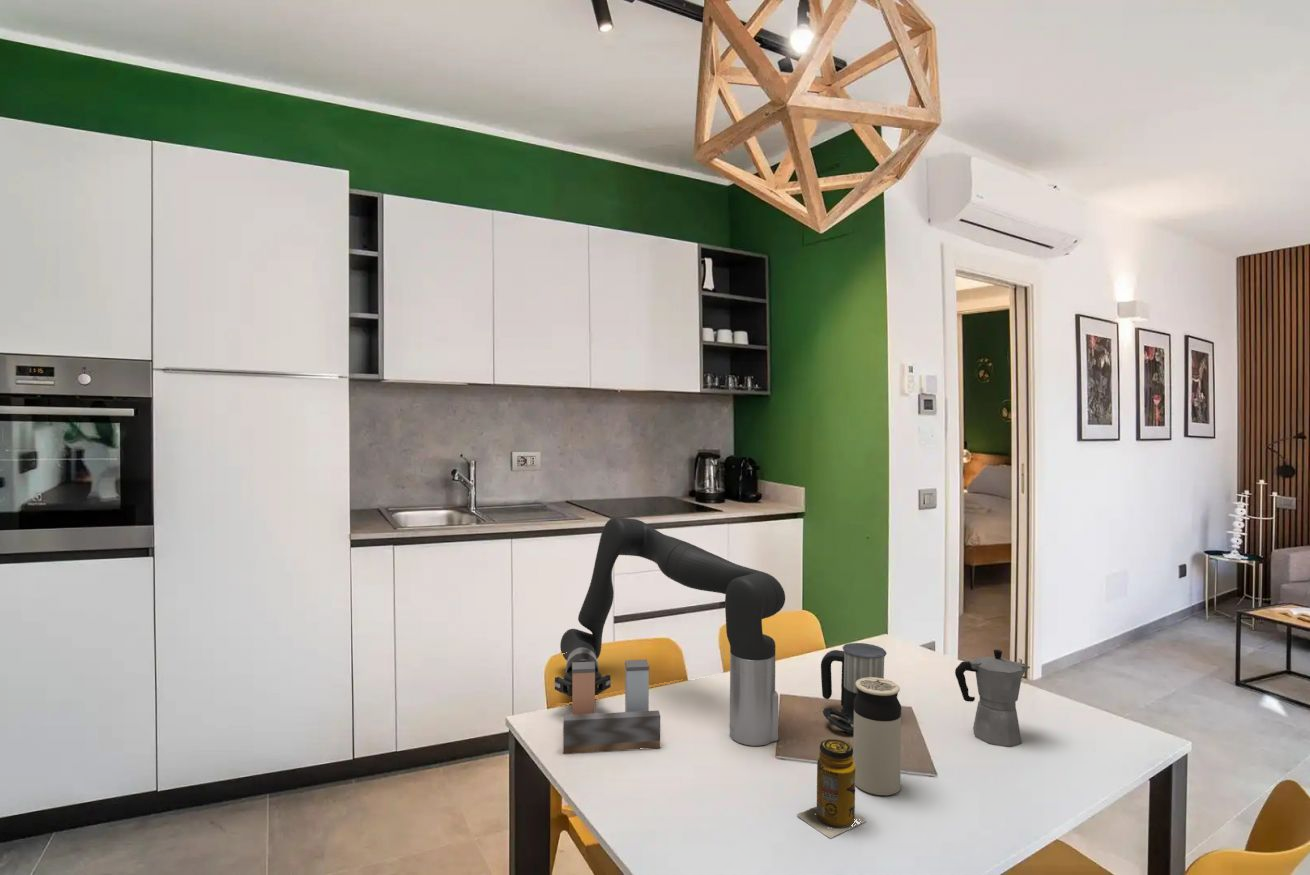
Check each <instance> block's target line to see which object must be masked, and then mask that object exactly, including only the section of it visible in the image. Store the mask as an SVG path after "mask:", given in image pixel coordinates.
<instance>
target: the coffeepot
mask: <svg viewBox="0 0 1310 875" xmlns="http://www.w3.org/2000/svg"><path fill="white" fill-rule="evenodd" d="M993 655H994V657H991V656H981V657H976V658H973V660H968V661H961V662H960V663H959V664H958V665H957V667H956V668H955V669H954V670H955V671H954V674H955V675H954V676H955V677H956V680H957V683H958V686H959V690H960V693H961V696H962V699H963V700H964V701H965V702H970V703H971V702H975V699H976V697H975V696H970V695H969V687H968V685H967V682H966V675H965V674H964V673H966V671H967V672H968V671H969V672H973V673H974V672H975V678H976V686H977V691H978V693H977V694H978V695H979V700H978V701H977V707H976V711H975V717H974V722H973V726H972V729H973V734H974V737H975V738H977V739H978V740H979V741H982V742H984V743H987V744H989V745H993V746H999V747H1009V748H1010V747H1015V746H1018V745H1020V744H1022V736H1021V731H1020V730H1021V729H1020V725H1019V718H1018V717H1019V716H1018V710H1017V708H1016V702H1017V701H1018V700H1019V694H1020V691H1021V690H1020V689H1021V684H1022V678H1023V676H1024V674H1025V673H1026V672H1027V670H1028V669H1030V668H1031V667H1030V666H1029V665H1027V664H1026V663H1022V662H1019V661H1018V662H1017V661H1012V660H1009V659H1006V658H1002V655H1003V651H1002V650H1000V649H993Z"/></svg>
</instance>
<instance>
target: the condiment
mask: <svg viewBox="0 0 1310 875" xmlns="http://www.w3.org/2000/svg"><path fill="white" fill-rule="evenodd" d="M853 750H854V747H853V746H852V745H851V744H850V742H847V741H845V740H842V739H838V738H828V739H824V740H822V741H821V742H820V744H819V757H818V759H817V762H816V768H817V769H816V806H814V807H811V808H808V809H806V810H804V811H802V812H799V813H797V814H796V816H798V817H799V818H800V819H801V820H803V822H805V823H806V824H808V825H809V826H811V827H812V828H814V830H817V831H818V832H820V833H821V834H822V835H825V836H826V837H827V838H829V839H832V838H834V837H836V836H838V835H840V834H843V833H844V832H847V831H849V830H852V829H853V828H855V826H856V827H857V825H858V824H857V823H856V822H855V823H854V821H855V820H856V819H857V821H858V822H860V821H861V822H860V823H862V822H863V823H862V824H864V823H866V821H867V820H866V819H865V818H862V816H859V815H857V814H855V811H856V785H855V764H854V762H853ZM854 819H855V820H854ZM859 819H860V820H859ZM853 823H854V824H853ZM852 824H853V827H852V826H851V825H852ZM855 824H856V825H855ZM854 825H855V826H854ZM858 826H859V825H858ZM828 827H829V828H828ZM849 828H850V829H849Z"/></svg>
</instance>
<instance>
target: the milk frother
mask: <svg viewBox="0 0 1310 875" xmlns="http://www.w3.org/2000/svg"><path fill="white" fill-rule="evenodd" d="M887 654H888V653H887V651H886V650H885V649H884V648H882V647H881V646H879V645H876V644H875V645H874V644H870V643H863V642H850V643H846V644H844V645H843V646H842V650H839V649H833V650H830V651H828V652H826V654H824V656H823V657H822V660H821V663H820V678H821V679H820V680H821V694H822V697H823V699H825V700H829V699H831V697H832V695H833V684H832V664H833V662H841V686H840V687H841V688H840V689H841V693H840V694H841V696H840V699H841V700H840V706H841V707H842V708H841V711H840V710H837V709H834V708H831V707H824V708H823V710H822V714H823V716H824V717H825V719H826V720H827V721H828V722H830V724H832V725H833V726H834V727H836V728H838V729H840V731H841V730H842V731H843V733H844V732H846V733H850V734H854V699H855V697H856V695H857V694H858V690H857V687H856V684H855V683H856V681H857V680H859V679H861V678H867V677H876V678H883V679H885V658H886V655H887Z"/></svg>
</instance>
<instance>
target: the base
mask: <svg viewBox="0 0 1310 875" xmlns="http://www.w3.org/2000/svg"><path fill="white" fill-rule="evenodd" d="M660 713H661V712H660V710H649V711H637V712H625V711H621V712H617V711H616V712H601V713H600V712H597V713H596V712H595V714H576V715H572V714H563V720H562V721H563V725H562V726H563V727H562V728H563V746H562V747H563V754H565V755H566V754H581V753H582V754H583V753H598V752H597V751H603V752H614V751H613V750H621V751H628V750H627V749H639V750H641V749H640V748H656V749H660V748H661V714H660ZM659 747H660V748H659Z"/></svg>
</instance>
